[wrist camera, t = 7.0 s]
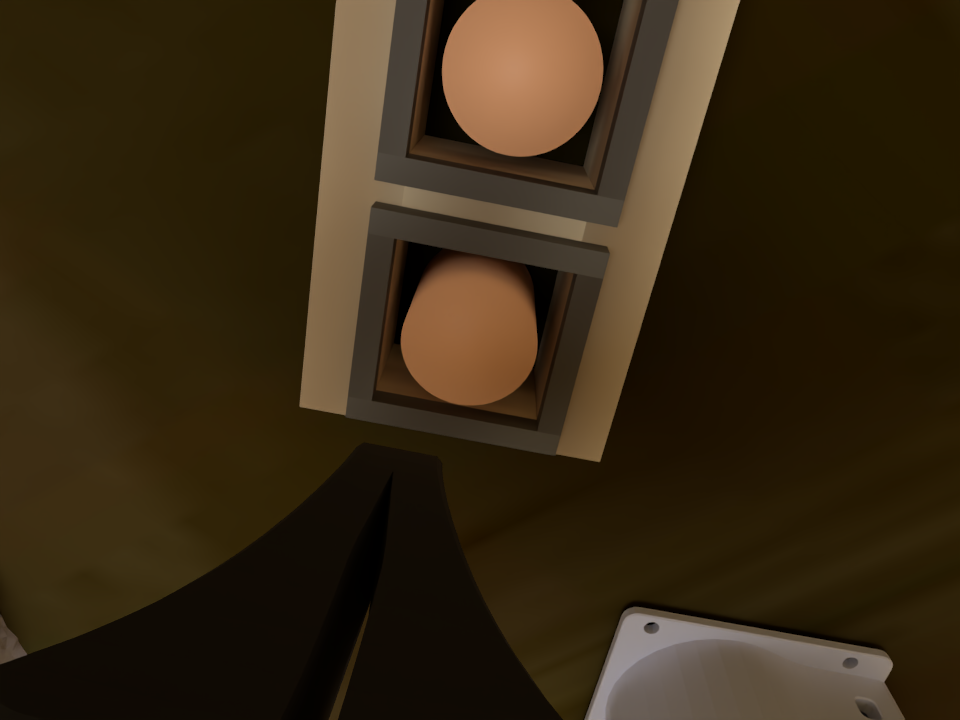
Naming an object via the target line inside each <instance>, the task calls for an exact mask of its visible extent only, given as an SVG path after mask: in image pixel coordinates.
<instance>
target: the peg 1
mask: <svg viewBox="0 0 960 720" xmlns="http://www.w3.org/2000/svg"><path fill="white" fill-rule="evenodd" d="M602 80H603V56H602V51H601V46H600V42H599V39H598V36H597V34H596V32H595V29H594V27H593V25H592V23H591V22H590V20H589V19H588V17H587V16H586V14H585V13H584V12H583V11H582V10H581V9H580V8H579V6H578V5H576V4H575V3H574V2H573V1H572V0H476V1H475V2H474V3H473V4H472V5H471V6H469V7H468V8H467V9H466V11H465V12H464V13H463V14H462V15H461V16H460V18H459V19H458V21H457V22H456V24H455V25H454V27H453V29H452V31H451V33H450V35H449V38H448V41H447V44H446V47H445V51H444V56H443V64H442V81H443V88H444V93H445V97H446V100H447V103H448V106H449V108H450V110H451V113H452V114H453V116H454V118H455V119H456V121H457V123H458V124H459V125H460V127H461V128H462V129H463V130H464V131H465V132H466V133H467V134H468V135H469V136H470V137H471V138H472V139H473V140H475V141H476V142H477V143H478V144H480V145H482V146H483V147H485V148H487V149H489V150H491V151H494V152H496V153H500V154H503V155H508V156H516V157H526V156H533V155H538V154H542V153H546V152H548V151H551V150H553V149H555V148H557V147H559V146H560V145H562V144H564V143H565V142H567V141H568V140H569V139H570V138H572V137H573V136H574V135H575V134H576V133H577V132H578V131H579V130H580V129H581V128H582V127H583V125H584V124H585V123H586V121H587V120H588V118H589V117H590V115H591V113H592V112H593V110H594V107H595V105H596V103H597V101H598V97H599V94H600V91H601V86H602Z"/></svg>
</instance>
